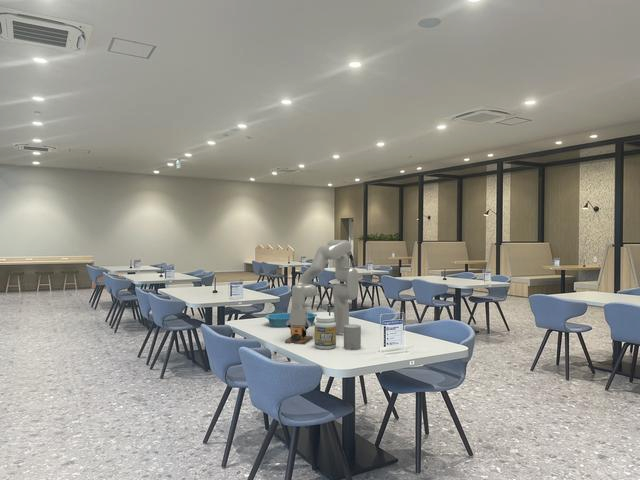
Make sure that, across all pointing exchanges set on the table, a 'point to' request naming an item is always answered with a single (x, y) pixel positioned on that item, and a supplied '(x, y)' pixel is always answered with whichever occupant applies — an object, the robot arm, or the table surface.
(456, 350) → the table surface
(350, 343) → the gray cylinder
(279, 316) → the casserole dish
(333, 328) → the supplement tub
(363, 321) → the table surface
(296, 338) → the rail board
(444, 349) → the table surface
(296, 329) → the lock block
